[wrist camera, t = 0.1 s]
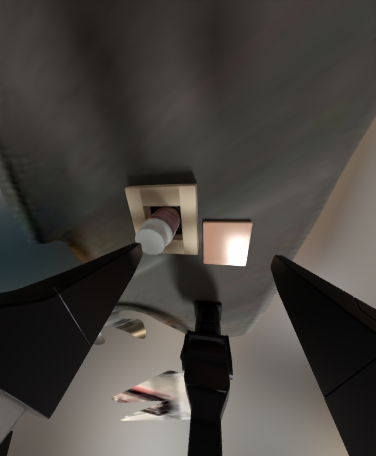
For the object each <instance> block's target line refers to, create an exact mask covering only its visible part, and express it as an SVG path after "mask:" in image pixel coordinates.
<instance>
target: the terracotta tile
mask: <svg viewBox="0 0 376 456" xmlns="http://www.w3.org/2000/svg"><path fill="white" fill-rule="evenodd" d="M251 228H252V222H225V221H204V222H203V242H204V264H221V265H239V266H245V265H246V259H247V253H248V247H249V240H250V234H251Z"/></svg>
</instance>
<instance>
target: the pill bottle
mask: <svg viewBox="0 0 376 456" xmlns="http://www.w3.org/2000/svg"><path fill="white" fill-rule="evenodd" d="M179 224H180V216H179V214H178V212H177V211H176V210H175V209H173V208H171V207H161V208H160V209H158V210H157V211H156V212H155V213H154V214H153V215H151V216H150V217H149V218H148V219H147V220H146V221H145V222H144V223H143V224H142V226H141V229H140V230H139V231H138V232H137V234H136V236H135V242H137V243H141V245H142V251H143V252H144V253H147V254H150V255H156V254H159V253H161V252H162V251H163V250H164V248H165V246H167V245H168V244H170V242H171V241H172V239H173V236H174V235H175V232H176V230H177V228H178V227H179Z"/></svg>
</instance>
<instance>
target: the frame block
mask: <svg viewBox="0 0 376 456" xmlns="http://www.w3.org/2000/svg"><path fill="white" fill-rule="evenodd" d="M125 192H126V196H127V200H128V204H129V208H130V212H131V216H132V220H133V224H134V228H135V232H136V234H137V232H138V231H139V230H140V229H141V226H142V224H143V223H144V222H145V221H146V220H147V219H148V218H149V217H150V216H151V210H150V206H180V208H181V220H182V232H183V234H175V235H174V236H173V239H172V241H171V242H170V244H168V245H167V246H165V248H164V250H163V251H162V252H161V253H168V254H189V255H198V248H199V244H198V206H197V183H193V184H167V185H142V186H131V187H127V188H125Z"/></svg>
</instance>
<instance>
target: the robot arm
mask: <svg viewBox="0 0 376 456" xmlns="http://www.w3.org/2000/svg"><path fill="white" fill-rule="evenodd" d="M142 255H143V251H142V245H141V243H137V242H135V243H132V244H130V245H128V246H125V247H123V248H120V249H118V250H116V251H113V252H111V253H109V254H106V255H104V256H101V257H99V258H97V259H94V260H92V261H90V262H87V263H85V264H83V265H80V266H78V267H75V268H73V269H70V270H68V271H65V272H63V273H60V274H58V275H55V276H52V277H50V278H47V279H44V280H42V281H39V282H36V283H33V284H31V285H28V286H25V287H23V288H20V289H17V290H13V291H9V292H4V293H0V456H7V453H8V449H9V445H10V441H11V437H12V433H13V431H11V429H12V428H13V426H14V425H15V424H16V423H17V421H18V420H19V419H20V417H21V416H22V415H23V413H24V412H27V413H30V414H33V415H36V416H40V417H43V418H47V419H49V418H50V417H51V415H52V414H53V412H54V411H55V409H56V407H57V406H58V404H59V402H60V400H61V399H62V397H63V395H64V393H65V392H66V390H67V388H68V387H69V385H70V383H71V382H72V380H73V378H74V376H75V375H76V373H77V371H78V370H79V368H80V366H81V364H82V363H83V361H84V359H85V358H86V356H87V354H88V352H89V350H90V349H91V347H92V345H93V344H94V342H95V340H96V338H97V337H98V335H99V333H100V332H101V330H102V328H103V326H104V325H105V323H106V321H107V319H108V318H109V316H110V314H111V313H112V311H113V309H114V307H115V306H116V304H117V302H118V301H119V299H120V297H121V295H122V294H123V292H124V290H125V289H126V287H127V285H128V283H129V282H130V280H131V278H132V277H133V275H134V273H135V271H136V269H137V266H138V264H139V262H140V260H141V257H142ZM271 271H272V274H273V278H274V281H275V284H276V287H277V290H278V293H279V295H280V298H281V300H282V302H283V304H284V307H285V309H286V311H287V313H288V316H289V318H290V320H291V323H292V325H293V327H294V330H295V332H296V334H297V337H298V339H299V341H300V344H301V346H302V348H303V350H304V353H305V355H306V357H307V360H308V362H309V364H310V366H311V369H312V371H313V373H314V376H315V378H316V380H317V383H318V385H319V387H320V390H321V392H322V394H323V396H324V397H325V398H324V399H325V401H326V404H327V406H328V408H329V411H330V413H331V415H332V417H333V419H334V422H335V424H336V427H337V429H338V431H339V434H340V436H341V438H342V440H343V443H344V445H345V447H346V450H347V452H348V454H349V456H376V309H375V308H372V307H371V306H369V305H367V304H366V303H364V302H362V301H360V300H358V299H357V298H354V297H353V296H352V295H350V294H348V293H346V292H345V291H343V290H341V289H340V288H338V287H336V286H334V285H332V284H331V283H329V282H327V281H325V280H324V279H322V278H320V277H319V276H317V275H315V274H313V273H312V272H310V271H308V270H306V269H305V268H303V267H301V266H299V265H298V264H296V263H294V262H293V261H291V260H289V259H287V258H286V257H284V256H281V255H275V256H274V257H273V260H272V263H271ZM221 311H222V304H220V303H211V302H201V301H195V318H196V324H195V332H194V331H190V330H188V331H187V334H185V340H184V345H183V348H182V351H181V355H180V359H181V361H182V370H183V371H185V372H184V381H185V387H186V393H187V397H188V401H189V405H190V409H191V421H190V433H189V445H188V456H222V438H221V419H222V416H223V413H224V410H225V407H226V404H227V401H228V396H229V389H230V380H232V378H233V370H232V358H231V352H230V344H229V337H228V335H226V336H224V335H221V328H220V321H221Z"/></svg>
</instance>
